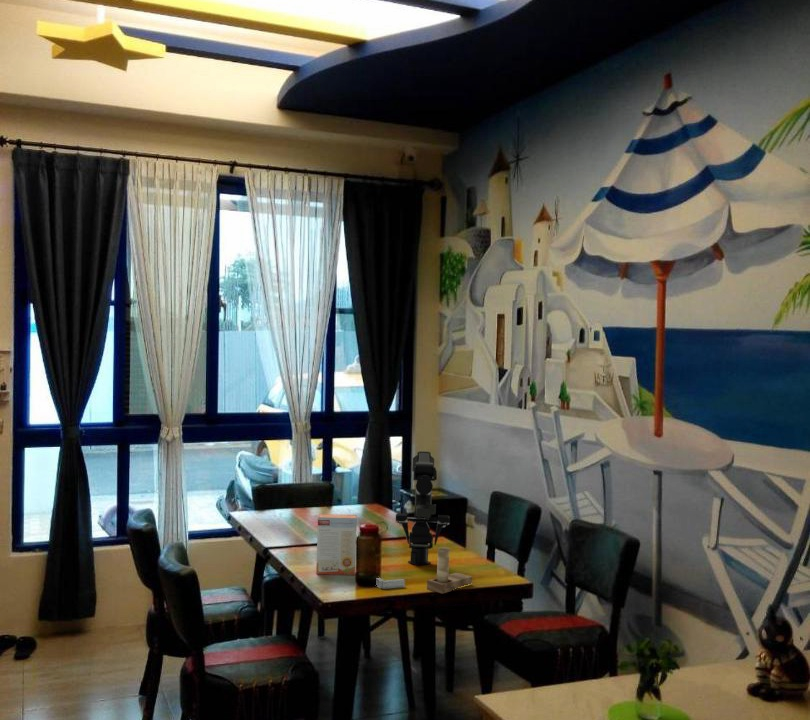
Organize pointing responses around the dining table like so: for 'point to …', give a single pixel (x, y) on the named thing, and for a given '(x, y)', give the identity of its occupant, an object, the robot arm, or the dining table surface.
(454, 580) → the wooden socket block
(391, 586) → the v cradle
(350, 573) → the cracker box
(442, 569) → the dowel
